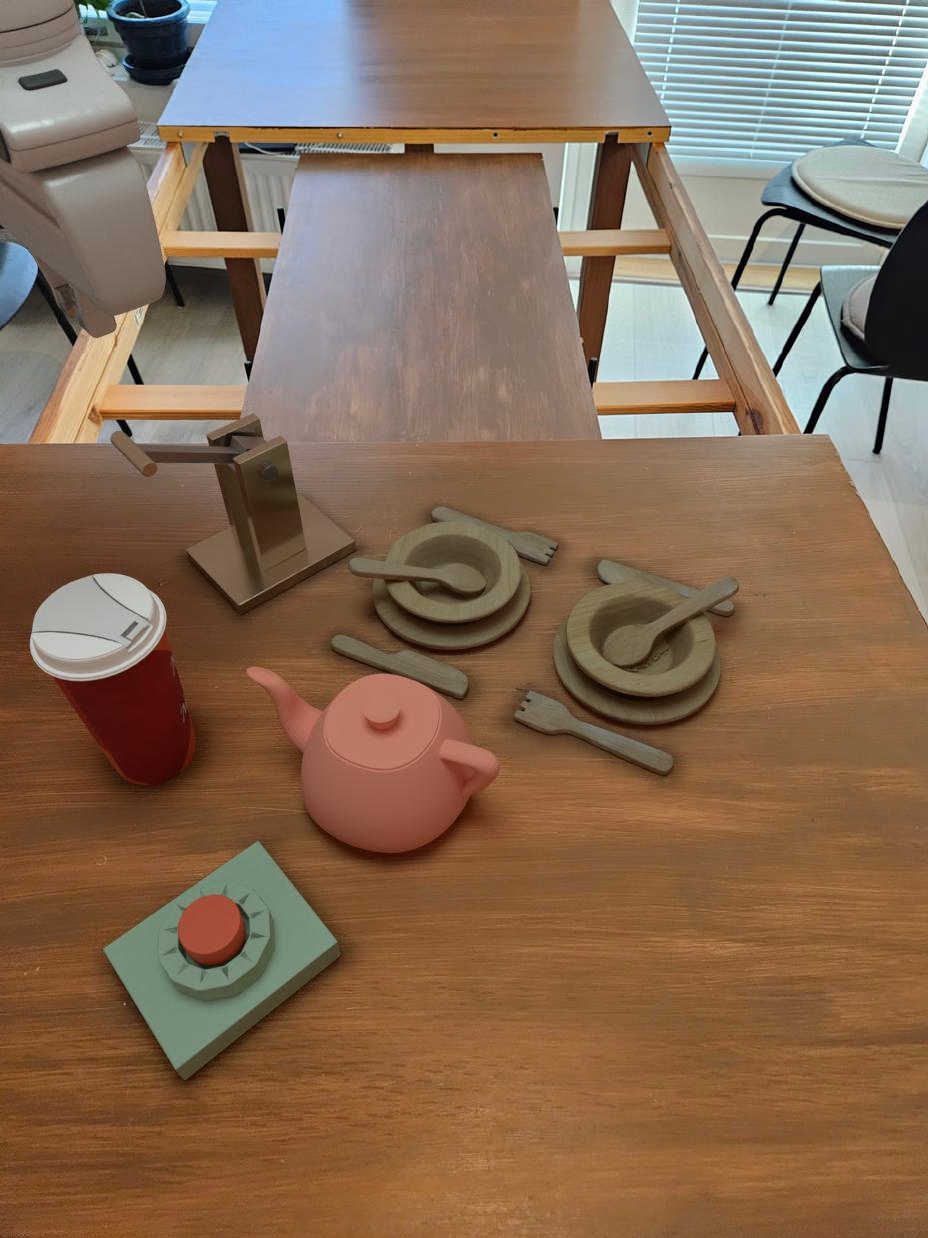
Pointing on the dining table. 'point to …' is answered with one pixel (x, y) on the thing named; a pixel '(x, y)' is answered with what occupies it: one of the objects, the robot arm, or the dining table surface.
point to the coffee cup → (118, 673)
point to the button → (212, 930)
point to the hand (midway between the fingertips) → (88, 320)
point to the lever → (181, 452)
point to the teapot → (382, 760)
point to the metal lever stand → (264, 524)
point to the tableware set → (584, 643)
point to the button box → (234, 990)
